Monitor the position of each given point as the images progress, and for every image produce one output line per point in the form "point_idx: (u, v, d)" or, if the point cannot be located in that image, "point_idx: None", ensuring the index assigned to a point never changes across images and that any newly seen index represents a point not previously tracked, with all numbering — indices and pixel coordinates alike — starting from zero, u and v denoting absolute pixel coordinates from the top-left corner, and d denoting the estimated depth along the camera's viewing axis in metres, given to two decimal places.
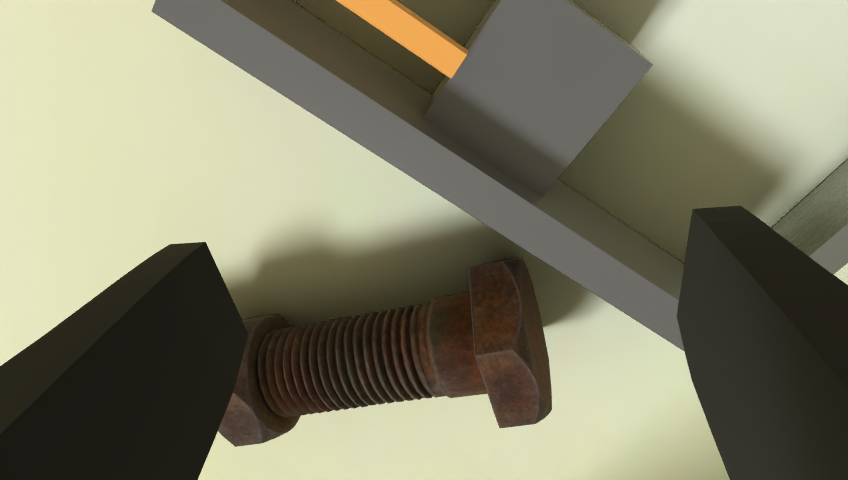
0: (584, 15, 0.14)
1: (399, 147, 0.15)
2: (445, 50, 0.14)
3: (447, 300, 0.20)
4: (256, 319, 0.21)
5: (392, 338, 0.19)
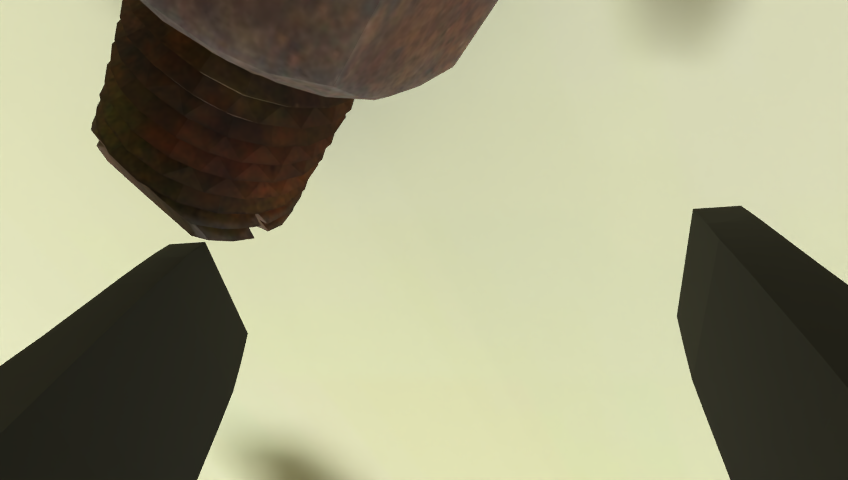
0: None
1: None
2: None
3: None
4: None
5: None
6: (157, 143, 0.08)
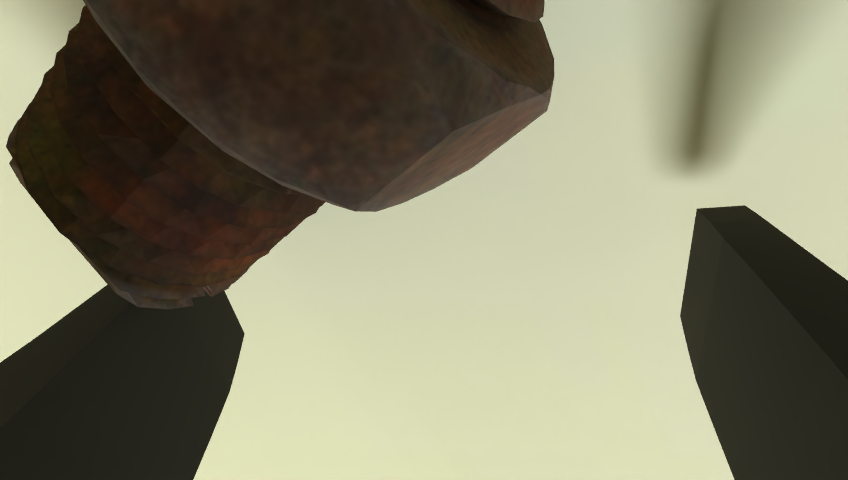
0: None
1: None
2: None
3: None
4: None
5: None
6: (97, 197, 0.06)
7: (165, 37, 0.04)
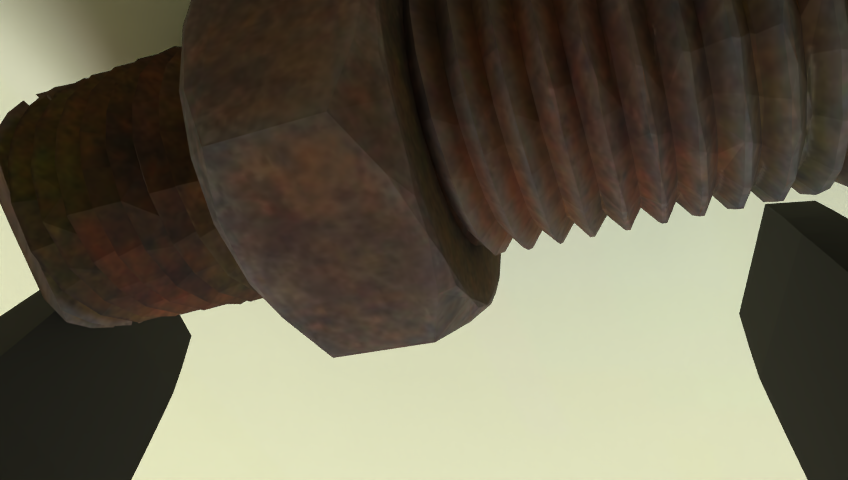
0: None
1: None
2: None
3: None
4: None
5: None
6: (87, 239, 0.06)
7: (255, 211, 0.05)
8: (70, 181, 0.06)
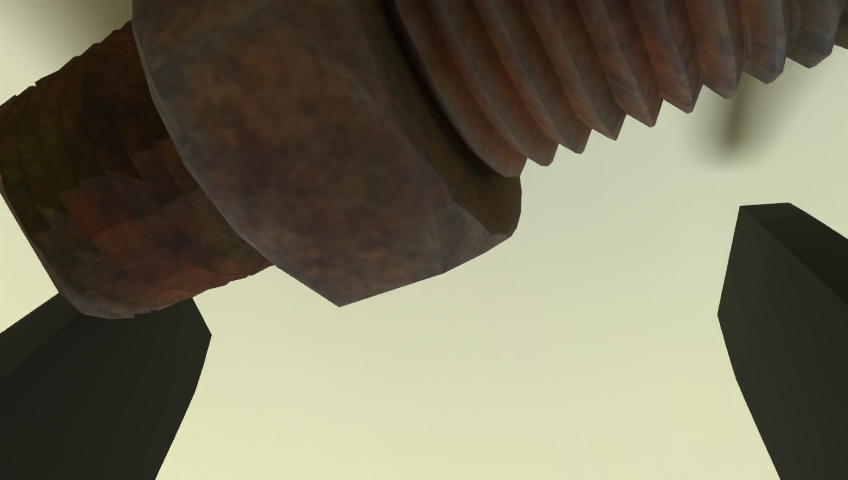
0: None
1: None
2: None
3: None
4: None
5: None
6: (81, 218, 0.06)
7: (222, 143, 0.05)
8: (56, 159, 0.06)
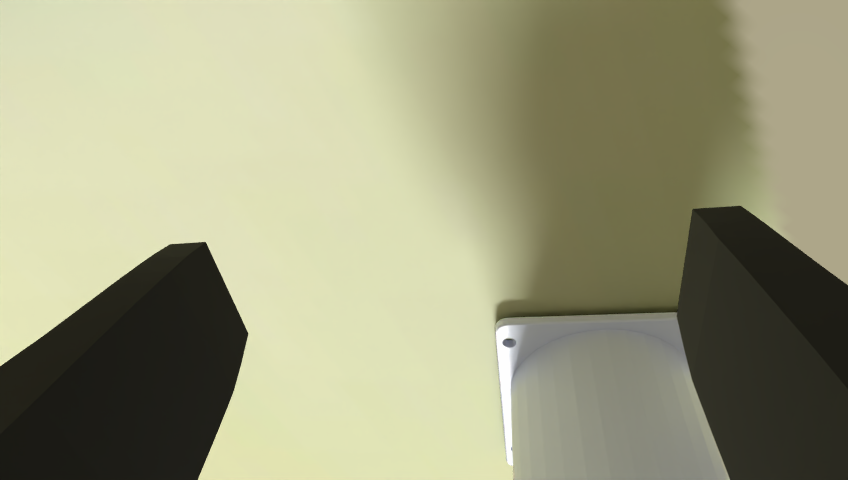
0: None
1: None
2: None
3: None
4: None
5: None
6: None
7: None
8: None
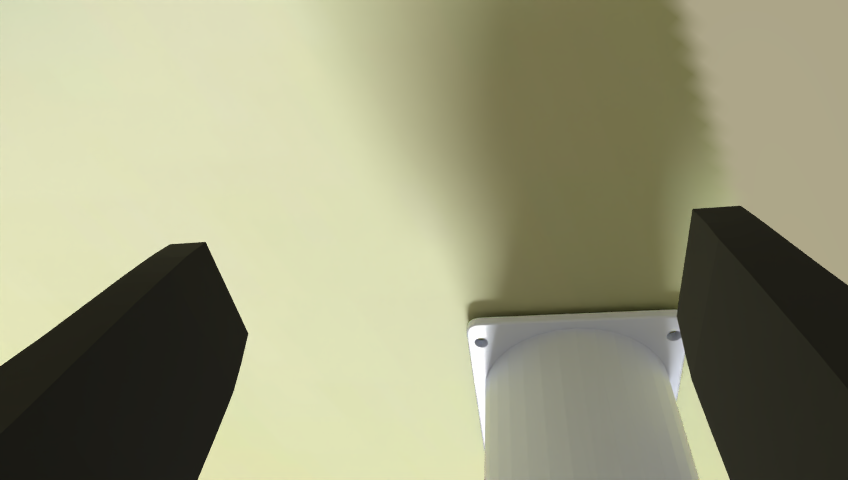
0: None
1: None
2: None
3: None
4: None
5: None
6: None
7: None
8: None
